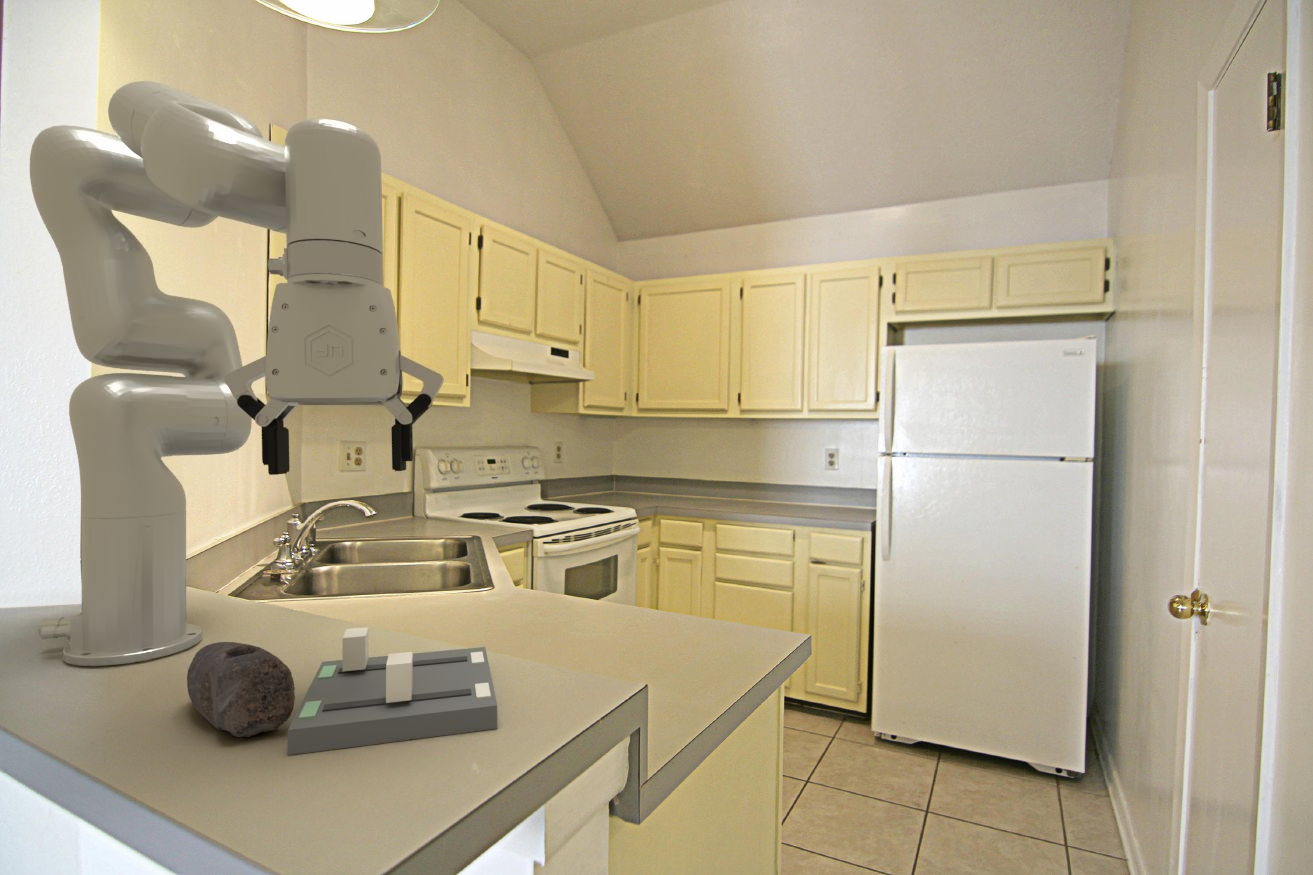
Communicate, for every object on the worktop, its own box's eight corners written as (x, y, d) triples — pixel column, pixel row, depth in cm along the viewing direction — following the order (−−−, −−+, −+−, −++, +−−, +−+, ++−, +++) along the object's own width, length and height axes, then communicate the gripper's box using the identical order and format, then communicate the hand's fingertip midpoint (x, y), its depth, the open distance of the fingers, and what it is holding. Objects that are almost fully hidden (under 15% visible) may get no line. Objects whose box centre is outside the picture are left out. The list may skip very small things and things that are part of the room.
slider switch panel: (287, 755, 52) (288, 728, 52) (322, 681, 68) (322, 660, 68) (497, 728, 57) (497, 703, 57) (485, 665, 72) (485, 645, 72)
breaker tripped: (386, 702, 56) (386, 665, 56) (388, 689, 59) (388, 653, 59) (411, 700, 57) (411, 662, 57) (412, 687, 60) (412, 651, 60)
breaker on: (342, 671, 64) (342, 637, 63) (346, 660, 66) (346, 628, 66) (365, 669, 64) (365, 636, 64) (368, 658, 67) (368, 627, 67)
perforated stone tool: (168, 708, 61) (168, 632, 61) (232, 690, 65) (232, 620, 65) (230, 759, 52) (230, 670, 52) (301, 735, 56) (301, 653, 56)
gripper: (204, 258, 52) (209, 477, 52) (436, 266, 56) (440, 470, 56) (242, 281, 59) (246, 473, 59) (445, 287, 63) (448, 467, 63)
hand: (340, 472), depth 58 cm, fingers open, 9 cm apart
